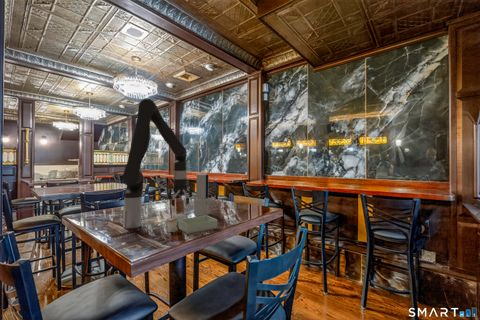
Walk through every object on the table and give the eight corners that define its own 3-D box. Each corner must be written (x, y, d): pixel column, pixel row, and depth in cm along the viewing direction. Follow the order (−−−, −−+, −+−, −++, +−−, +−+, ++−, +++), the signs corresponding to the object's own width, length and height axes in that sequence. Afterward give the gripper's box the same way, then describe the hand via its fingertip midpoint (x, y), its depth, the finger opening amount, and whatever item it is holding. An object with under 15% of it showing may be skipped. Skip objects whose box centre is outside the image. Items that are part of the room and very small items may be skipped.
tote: (187, 234, 113) (187, 224, 113) (178, 228, 124) (178, 219, 124) (217, 228, 124) (217, 219, 124) (207, 223, 134) (207, 215, 134)
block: (176, 227, 127) (176, 216, 127) (173, 224, 132) (173, 214, 132) (186, 225, 130) (186, 215, 130) (182, 223, 135) (182, 213, 135)
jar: (168, 233, 115) (168, 220, 115) (165, 231, 119) (165, 218, 119) (177, 231, 118) (178, 219, 118) (174, 229, 122) (174, 217, 122)
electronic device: (203, 217, 150) (203, 174, 151) (193, 216, 151) (193, 173, 152) (209, 213, 162) (209, 173, 163) (200, 213, 164) (200, 173, 164)
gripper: (189, 177, 139) (189, 203, 138) (166, 178, 131) (166, 205, 130) (193, 178, 133) (193, 204, 132) (170, 179, 124) (170, 207, 124)
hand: (180, 205), depth 131 cm, fingers open, 8 cm apart
